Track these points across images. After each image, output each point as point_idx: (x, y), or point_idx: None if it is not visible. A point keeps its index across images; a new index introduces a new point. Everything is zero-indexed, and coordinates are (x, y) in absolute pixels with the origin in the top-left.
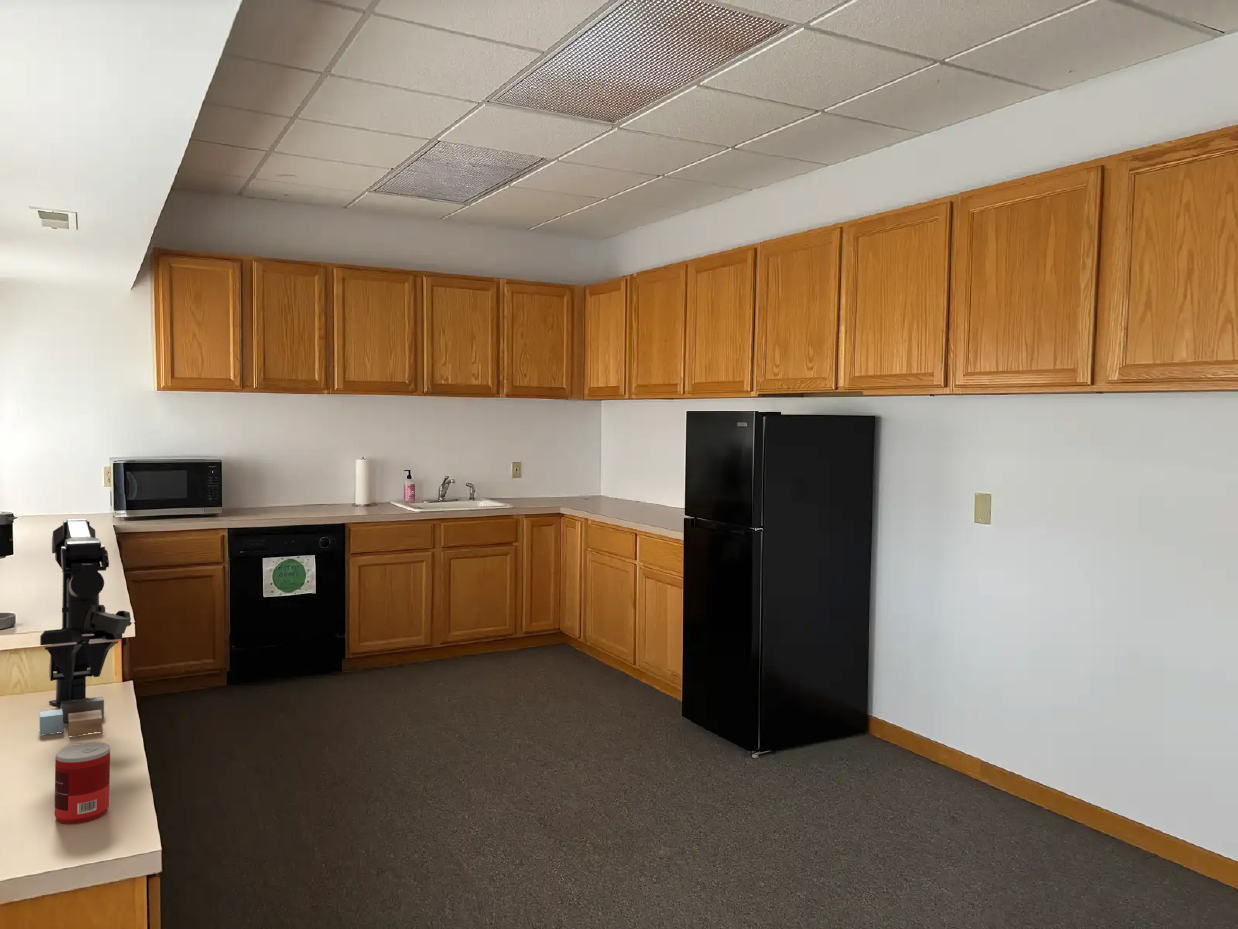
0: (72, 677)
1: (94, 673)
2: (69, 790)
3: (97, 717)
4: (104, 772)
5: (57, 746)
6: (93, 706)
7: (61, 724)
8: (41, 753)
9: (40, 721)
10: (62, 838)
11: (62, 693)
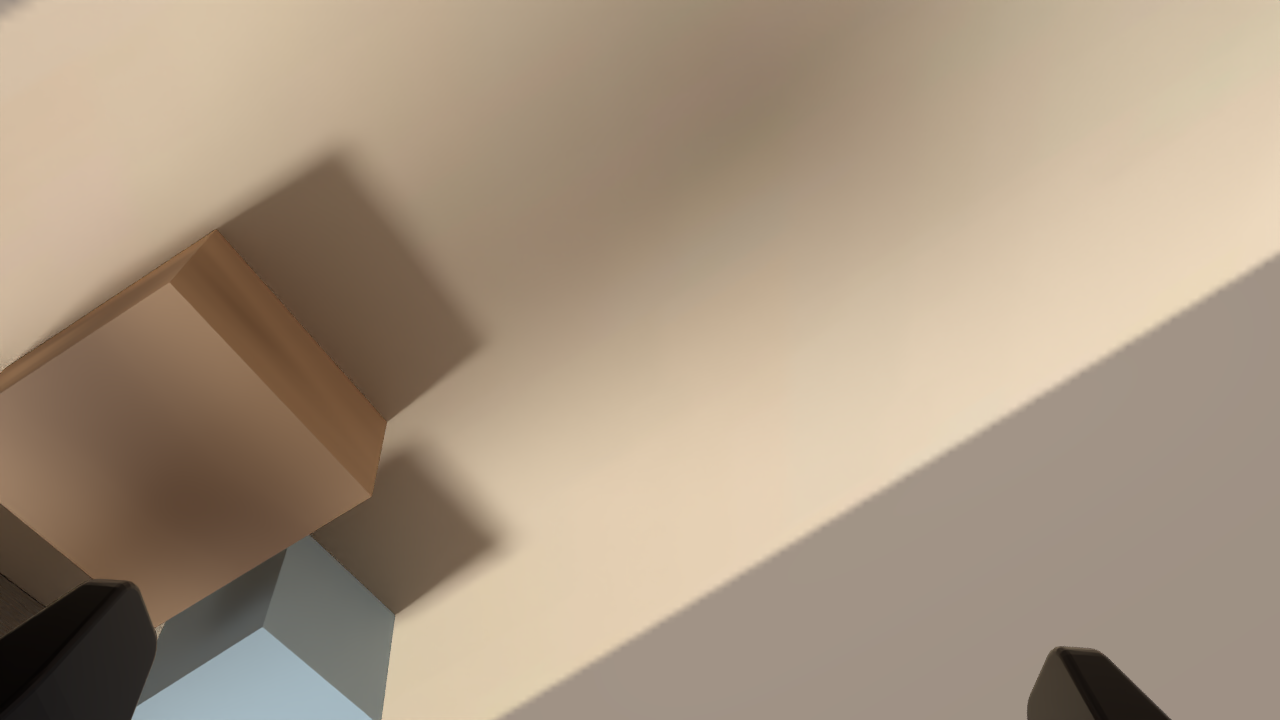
0: (1104, 679)
1: (122, 694)
2: None
3: (177, 332)
4: None
5: (594, 380)
6: None
7: (286, 572)
8: (744, 397)
9: (383, 696)
10: None
11: None
